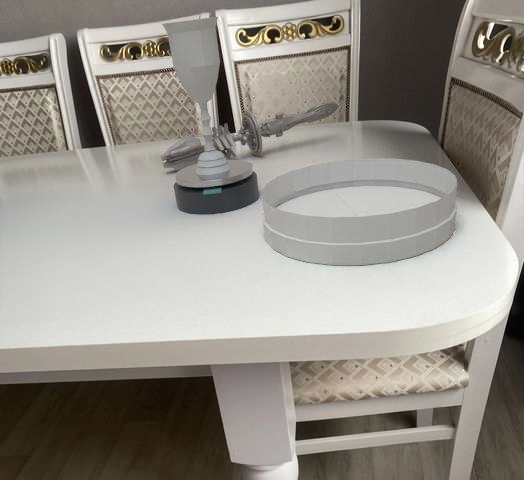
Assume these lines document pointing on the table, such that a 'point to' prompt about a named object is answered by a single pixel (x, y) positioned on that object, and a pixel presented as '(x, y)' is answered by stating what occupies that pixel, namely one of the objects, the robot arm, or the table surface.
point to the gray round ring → (360, 211)
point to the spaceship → (242, 135)
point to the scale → (217, 197)
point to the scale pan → (235, 174)
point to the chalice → (198, 78)
